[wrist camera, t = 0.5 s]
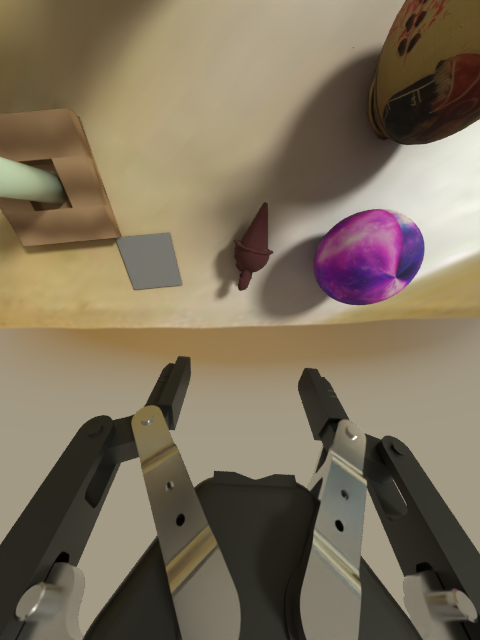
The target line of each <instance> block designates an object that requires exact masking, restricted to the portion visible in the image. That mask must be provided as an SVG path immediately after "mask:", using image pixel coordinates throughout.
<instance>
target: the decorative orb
mask: <svg viewBox="0 0 480 640" xmlns="http://www.w3.org/2000/svg"><path fill="white" fill-rule="evenodd" d="M423 257H424V240H423V236H422V234H421V232H420V230H419V228H418V227H417V225H416V224H415V223H414V222H413V221H412V220H411V219H409V218H408V217H407V216H405V215H403V214H401V213H398V212H395V211H391V210H385V209H373V210H367V211H362V212H359V213H356V214H353V215H351V216H349V217H347V218H345V219H343V220H342V221H340V222H339V223H337V224H336V225H335V226H334V227H333V228H332V229H330V231H329V232H328V233H327V234H326V235H325V236H324V238H323V239H322V241H321V242H320V244H319V246H318V248H317V251H316V254H315V258H314V274H315V278H316V280H317V282H318V284H319V286H320V288H321V289H322V290H323V291H324V292H325V293H326V294H327V295H328V296H330V297H331V298H333V299H335V300H337V301H339V302H342V303H345V304H350V305H368V304H373V303H377V302H380V301H383V300H386V299H388V298H390V297H392V296H394V295H395V294H397V293H398V292H400V291H401V290H402V289H404V288H405V287H406V286H407V285H408V284H409V283H410V282H411V281H412V279H413V278H414V277H415V275H416V274H417V272H418V270H419V269H420V266H421V264H422V261H423Z"/></svg>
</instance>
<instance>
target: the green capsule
mask: <svg viewBox="0 0 480 640" xmlns="http://www.w3.org/2000/svg"><path fill="white" fill-rule="evenodd" d="M0 197H6V198H14V199H22V200H29V201H37V202H45V203H52V204H63V203H65V202H66V201H67V198H68V195H67V193H66V191H65V188H64V186H63V184H62V182H61V179H60V178H59V177H58V176H57V175H55V174H54V173H51V172H48V171H45V170H42V169H38V168H35V167H32V166H28V165H25V164H22V163H19V162H15V161H12V160H9V159H6V158H2V157H0Z"/></svg>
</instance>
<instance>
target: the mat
mask: <svg viewBox="0 0 480 640" xmlns="http://www.w3.org/2000/svg"><path fill="white" fill-rule="evenodd" d="M116 241H117V244H118V246H119V249H120V252H121V254H122V257H123V260H124V263H125V265H126V268H127V271H128V273H129V276H130V279H131V281H132V284H133V287H134V289H135V290H136V289H146V288H156V287H166V286H177V285H182V281H181V277H180V273H179V269H178V265H177V260H176V256H175V252H174V248H173V244H172V239H171V235H170V233H160V234H149V235H139V236H128V237H118V238H116Z"/></svg>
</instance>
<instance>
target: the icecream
mask: <svg viewBox="0 0 480 640" xmlns="http://www.w3.org/2000/svg"><path fill="white" fill-rule="evenodd" d="M234 242H235V244H236V246H235V255H234V257H235V259H236V262H237V263H236V266H237V268H238V269H239V270H240V271H243V273H241V274H240V279H239V284H238V289H239V290H240V291H242V290H245V289H246V288H247V287H248V285H249V282H250V280H251V278H252V272H256V271H258V270H260V269H262V268H263V267H264V266H265V265H266V264H267V262H268V259H269V255H271V254H272V253H273V251H270V250H269V249H268V204H267V203H266V202H264V204H263V205H262V207H261V208H260V210H259V212H258V213H257V215H256V217H255V218H254V220H253V222H252V223H251V225H250V226H249V228H248V230H247V231H246V233H245V235H244V236H243V238H242V240H241V241H237V240H236V239H235V240H234Z"/></svg>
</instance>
